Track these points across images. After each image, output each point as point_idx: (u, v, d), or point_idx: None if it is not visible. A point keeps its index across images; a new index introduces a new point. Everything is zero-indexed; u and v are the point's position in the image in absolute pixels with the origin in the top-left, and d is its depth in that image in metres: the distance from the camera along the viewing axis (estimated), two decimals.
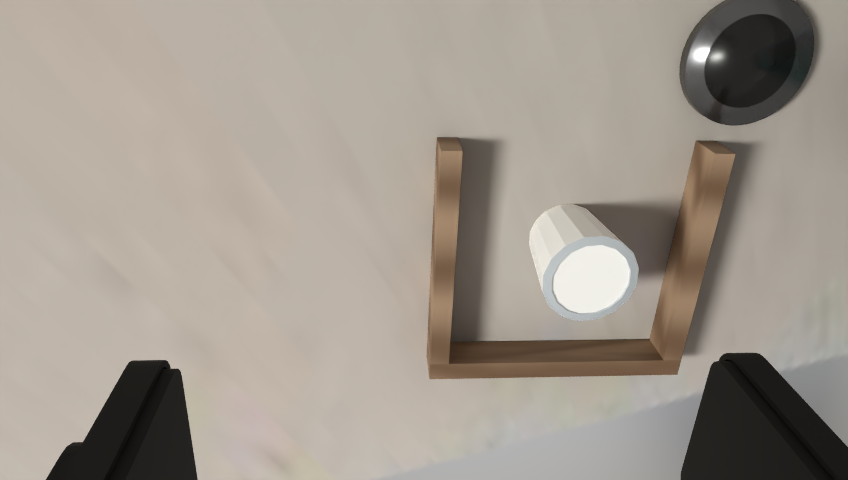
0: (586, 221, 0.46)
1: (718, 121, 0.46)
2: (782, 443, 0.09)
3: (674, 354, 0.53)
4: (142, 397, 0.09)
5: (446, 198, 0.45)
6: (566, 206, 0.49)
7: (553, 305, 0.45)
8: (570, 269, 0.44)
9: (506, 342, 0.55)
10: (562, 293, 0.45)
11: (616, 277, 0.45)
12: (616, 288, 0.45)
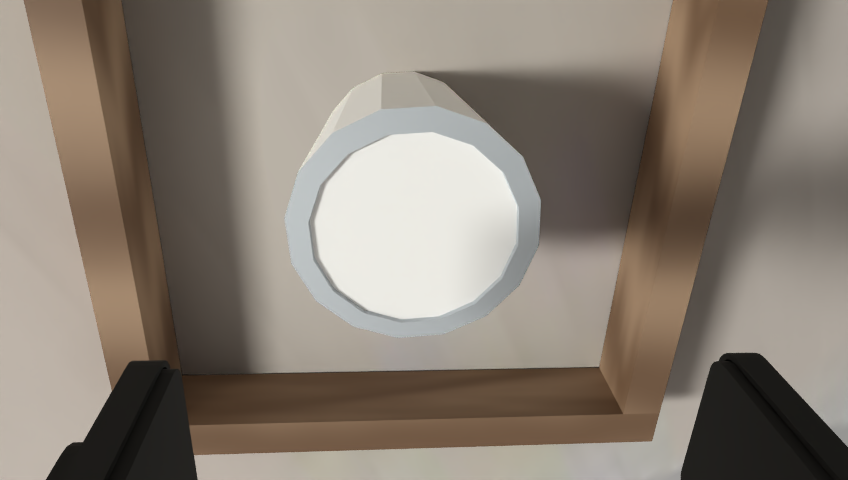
0: (416, 88, 0.18)
1: None
2: (783, 443, 0.09)
3: (645, 402, 0.26)
4: (142, 397, 0.09)
5: (49, 22, 0.18)
6: (395, 74, 0.21)
7: (326, 299, 0.18)
8: (356, 202, 0.16)
9: (311, 374, 0.27)
10: (345, 268, 0.17)
11: (483, 225, 0.17)
12: (486, 255, 0.17)
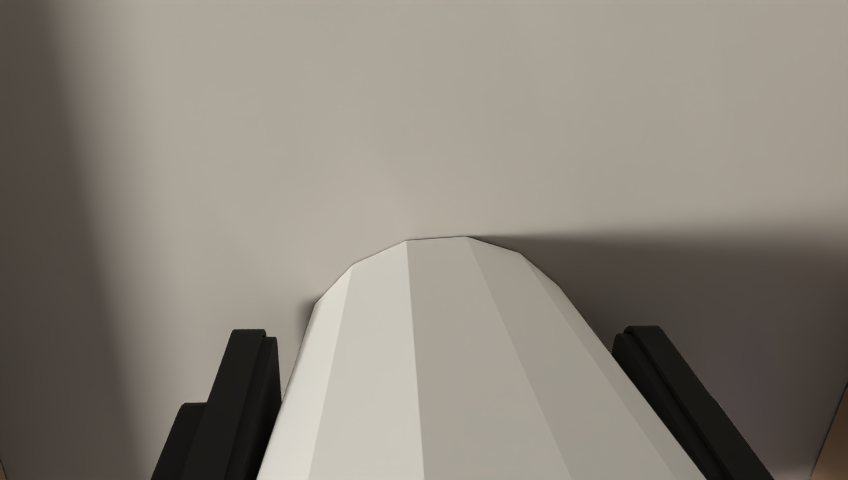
0: (494, 345, 0.08)
1: None
2: (663, 405, 0.10)
3: None
4: (251, 360, 0.10)
5: None
6: (433, 247, 0.11)
7: None
8: None
9: None
10: None
11: None
12: None
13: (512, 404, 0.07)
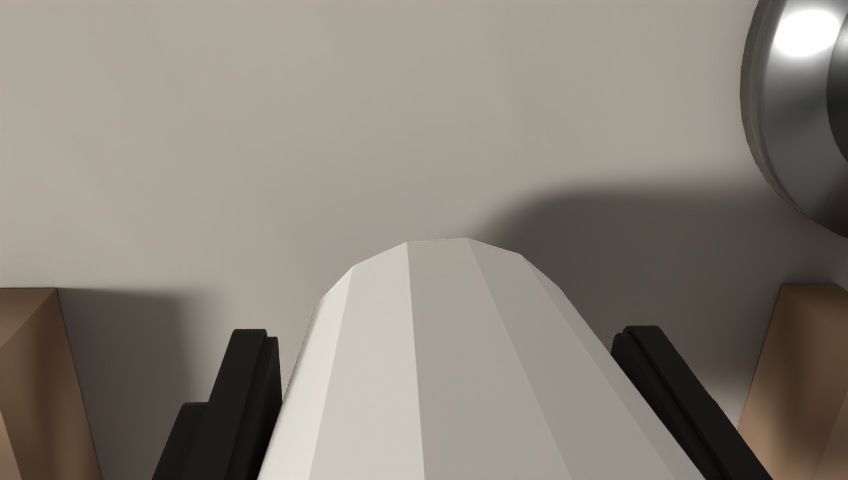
0: (494, 346, 0.08)
1: None
2: (662, 405, 0.10)
3: None
4: (252, 360, 0.10)
5: None
6: (434, 248, 0.11)
7: None
8: None
9: None
10: None
11: None
12: None
13: (512, 406, 0.07)
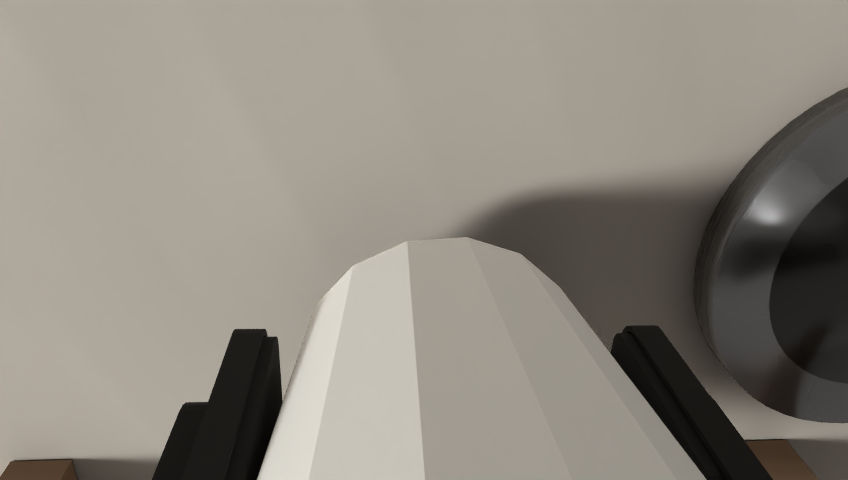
0: (495, 346, 0.08)
1: (802, 416, 0.16)
2: (662, 405, 0.10)
3: None
4: (252, 360, 0.10)
5: None
6: (434, 248, 0.11)
7: None
8: None
9: None
10: None
11: None
12: None
13: (513, 405, 0.07)
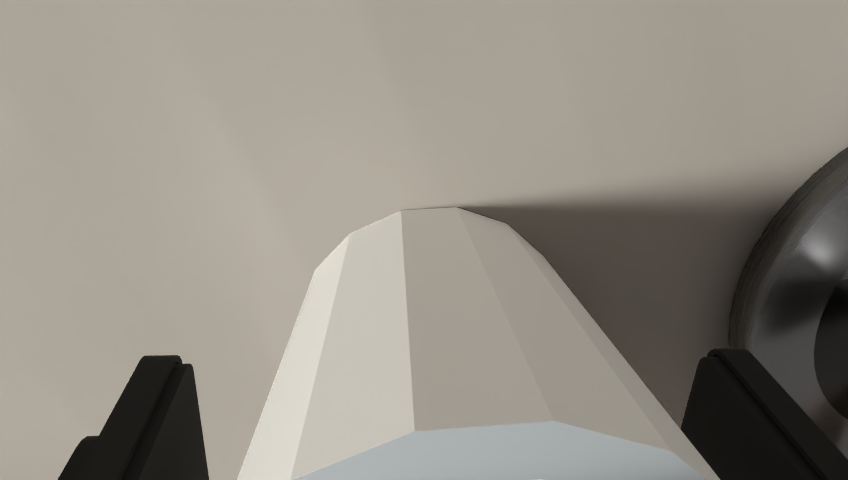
0: (478, 292, 0.09)
1: None
2: (767, 437, 0.09)
3: None
4: (156, 391, 0.09)
5: None
6: (425, 216, 0.12)
7: None
8: None
9: None
10: None
11: None
12: None
13: (492, 337, 0.08)
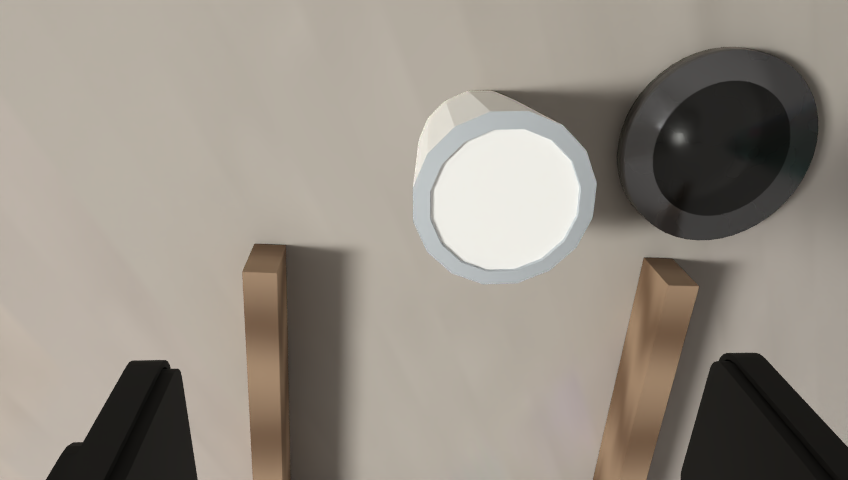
0: (505, 100, 0.25)
1: (675, 234, 0.31)
2: (782, 443, 0.09)
3: None
4: (142, 397, 0.09)
5: (257, 339, 0.30)
6: (479, 91, 0.28)
7: (435, 250, 0.24)
8: (465, 178, 0.23)
9: None
10: (451, 227, 0.24)
11: (554, 200, 0.24)
12: (554, 223, 0.24)
13: (510, 105, 0.24)
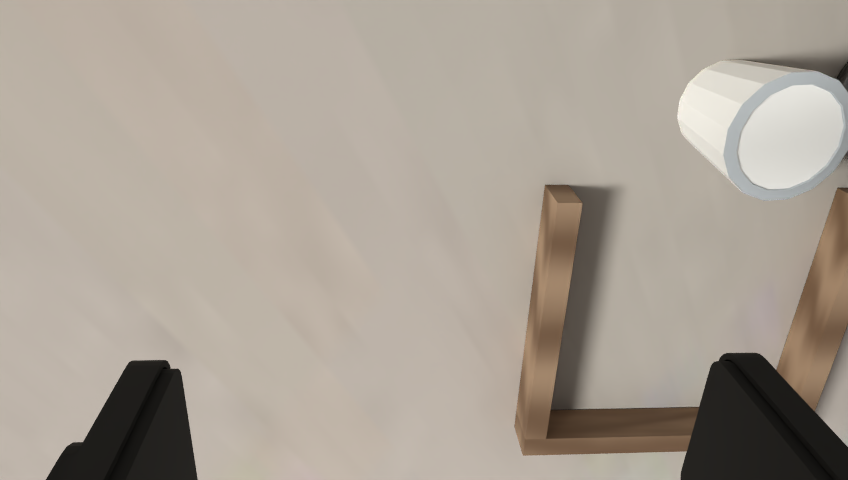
0: (776, 65, 0.34)
1: None
2: (782, 443, 0.09)
3: None
4: (142, 397, 0.09)
5: (558, 256, 0.39)
6: (733, 60, 0.37)
7: (735, 175, 0.33)
8: (765, 121, 0.32)
9: (605, 410, 0.48)
10: (749, 158, 0.33)
11: (824, 136, 0.33)
12: (821, 153, 0.33)
13: (790, 68, 0.33)
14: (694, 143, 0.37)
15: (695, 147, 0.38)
